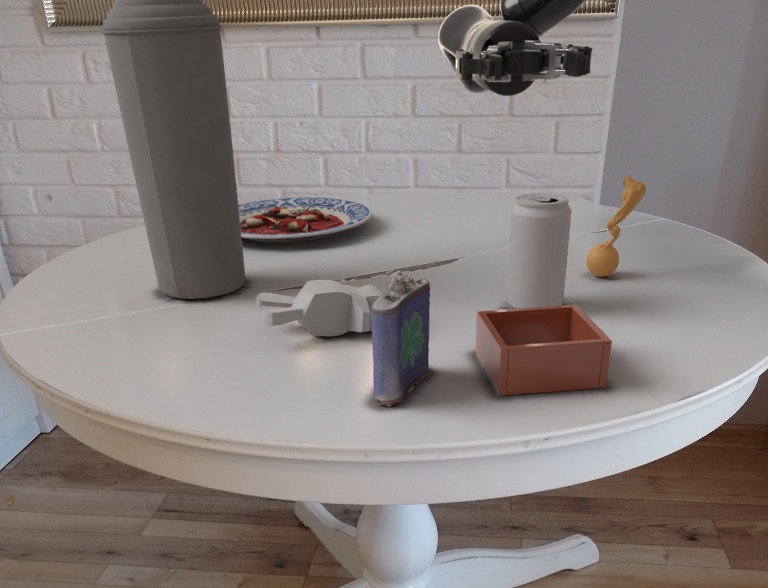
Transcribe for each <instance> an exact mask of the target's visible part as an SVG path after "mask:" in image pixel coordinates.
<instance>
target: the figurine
mask: <svg viewBox="0 0 768 588" xmlns="http://www.w3.org/2000/svg"><path fill="white" fill-rule="evenodd" d="M621 183H622V185H623V186H624V190H623V192H622V194H621V202H622V203H621V204H622V205H621V206H620V208H619V209H617V211H616V212H615V214H613V217H611V218H610V219H609V220H608V221H607V222H606V229H607V230H608V232H609V234H610V236H612V237H611V239H609V240H605V241H604V242H602V243H599V244H596V245H594V246H593V247H591V248H590V250H589V252H588V253H587V255H586V260H585V263H586V264H585V265H586V267H587V270H588V271H589V272H590V273H591V274H592V275H593V276H596V277H598V278H604V277H607V276H610V275H611V274H613V273H614V272H615V271H616V270H617V268H618V266H619V265H620V264H619V263H620V254H619V252H618V249H617V248H616V247H615V246H613V244H614V243H615V242H616V240H617V239H618V238H619V237H620V233H621V227H620V226H619V224H620V223H622V222H623V221H624V220H626V218H627V217H628V216H629V215H630V214H631V213H633V211H634V209H635V207H636V206H637V205H638V204H639V203H640V202H641V201H642V199H643V197H644V196H645V194H646V191H647V186H646V184H645V183H644V182H642V181H638V180H636V179H634V178H633V177H632V176H630V175H625V176H624V177H623V181H622V182H621Z"/></svg>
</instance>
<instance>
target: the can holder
mask: <svg viewBox="0 0 768 588" xmlns="http://www.w3.org/2000/svg"><path fill="white" fill-rule="evenodd" d="M612 343H613V341H612V339H611V338H610V337H609V336H608V335H607V334H606V333H605V332H604V331H603V330H602V329H601V328H600V327H599V326H598V325H597V324H596V323H595V322H594V321H593V320H592V319H591V318H590V317H589V315H587V314H586V313H585V312H584V310H582V308H581V307H580V306H579V305H578V304H564V305H563V304H562V305H561V306H547V307H533V308H519V309H513V308H507V309H491V310H477V311H476V327H475V356H476V358H477V360H478V363H479V364H480V365H481V367H482V369H483V371H484V373H485V374H486V376H487V378H488V380H489V381H490V383H491V385H492V387H493V388H494V390H495V392H496V395H497V396H498V397H505V396H515V395H517V396H518V395H529V394H542V393H553V392H554V393H555V392H566V391H578V390H579V391H580V390H591V389H592V390H593V389H606V388H607V382H608V374H609V367H610V360H611V359H610V358H611V353H612V351H611V350H612Z"/></svg>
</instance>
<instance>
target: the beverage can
mask: <svg viewBox="0 0 768 588" xmlns="http://www.w3.org/2000/svg"><path fill="white" fill-rule="evenodd" d="M514 202H515V204H514V205H513V207H512V209H511V211H510V212H511V213H510V228H509V229H510V231H509V248H508V249H509V250H508V268H507V272H508V273H507V289H506V302H507V304H508V305H509V306H510V307H512V309H519V308H533V307H547V306H562V305H563V304H564V299H565V287H566V278H567V277H566V276H567V265H568V254H569V253H568V251H569V242H570V232H571V222H572V220H571V219H572V208H571V207H570V205H569V202H570V198H569V197H568V196H567V195H565V194H560V193H551V192H540V193H539V192H534V193H533V192H532V193H526V194H520V195H518V196H516V197H515V200H514Z"/></svg>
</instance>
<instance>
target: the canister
mask: <svg viewBox="0 0 768 588" xmlns="http://www.w3.org/2000/svg"><path fill="white" fill-rule="evenodd" d="M102 26H103V29H102V30H101V34H103V35H104V41H105V47H106V51H107V55H108V59H109V64H110V69H111V73H112V78H113V79H112V80H113V82H114V83H113V84H114V88H115V92H116V98H117V102H118V106H119V112H120V115H121V121H122V126H123V130H124V136H125V140H126V144H127V149H128V154H129V159H130V162H131V167H132V172H133V177H134V182H135V186H136V190H137V191H136V192H137V195H138V199H139V204H140V208H141V213H142V218H143V223H144V226H145V231H146V235H147V239H148V245H149V249H150V254H151V259H152V263H153V267H154V272H155V277H156V281H157V285H158V288H159V290H160V291H161V293H162V294H164V295H166V296H168V297H170V298H177V299H184V300H185V299H187V300H198V299H199V300H200V299H209V298H215V297H220V296H223V295H227V294H230V293H234V292H235V291H237V290H239V289H240V288H242V287H243V286H244V285H245V282H246V269H245V259H244V249H243V241H242V240H243V237H241V227H240V217H239V207H238V205H239V199H238V198H239V197H238V189H237V179H236V178H237V176H236V168H235V157H234V156H235V155H234V147H233V139H232V128H231V120H230V119H231V118H230V109H229V99H228V91H227V81H226V70H225V61H224V51H223V42H222V31H221V29H222V28H223V26H222V24H220V21H219V17H218V16H217V15H216V14H214V13H213V11H212V9H211V7H210V6H209V5H207V4H206V3H204V2H203V0H114V1H113V6H112V7H111V8H110V9H109V10H108V12H107V15H106V18H105V19H103V22H102Z"/></svg>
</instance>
